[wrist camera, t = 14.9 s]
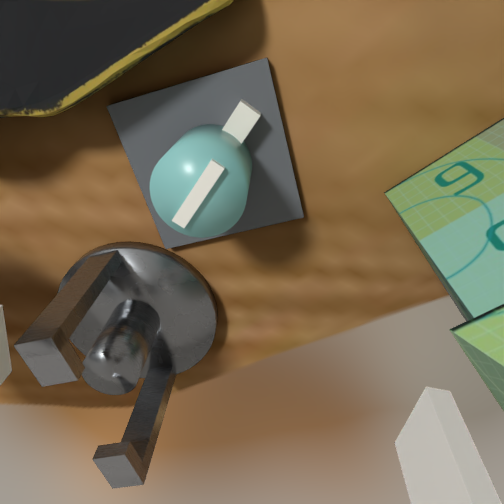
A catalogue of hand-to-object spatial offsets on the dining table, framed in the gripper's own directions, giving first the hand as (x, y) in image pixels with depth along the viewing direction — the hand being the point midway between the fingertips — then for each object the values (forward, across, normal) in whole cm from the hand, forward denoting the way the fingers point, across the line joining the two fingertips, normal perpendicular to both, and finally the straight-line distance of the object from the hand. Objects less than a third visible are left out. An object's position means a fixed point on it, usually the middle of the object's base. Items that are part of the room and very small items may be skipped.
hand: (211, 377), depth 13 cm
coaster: (+24, -4, -1) cm, 24 cm away
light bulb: (+23, -4, -1) cm, 24 cm away
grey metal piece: (+24, -9, -18) cm, 31 cm away
